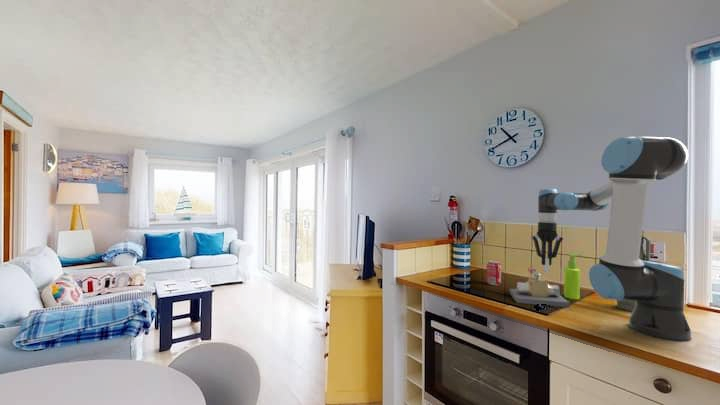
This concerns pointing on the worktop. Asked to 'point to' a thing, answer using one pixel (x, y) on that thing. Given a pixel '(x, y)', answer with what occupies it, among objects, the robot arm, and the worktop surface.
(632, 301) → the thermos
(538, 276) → the lever
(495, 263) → the soda can
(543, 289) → the valve body
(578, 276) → the soap dispenser
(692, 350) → the worktop surface
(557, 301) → the plinth
